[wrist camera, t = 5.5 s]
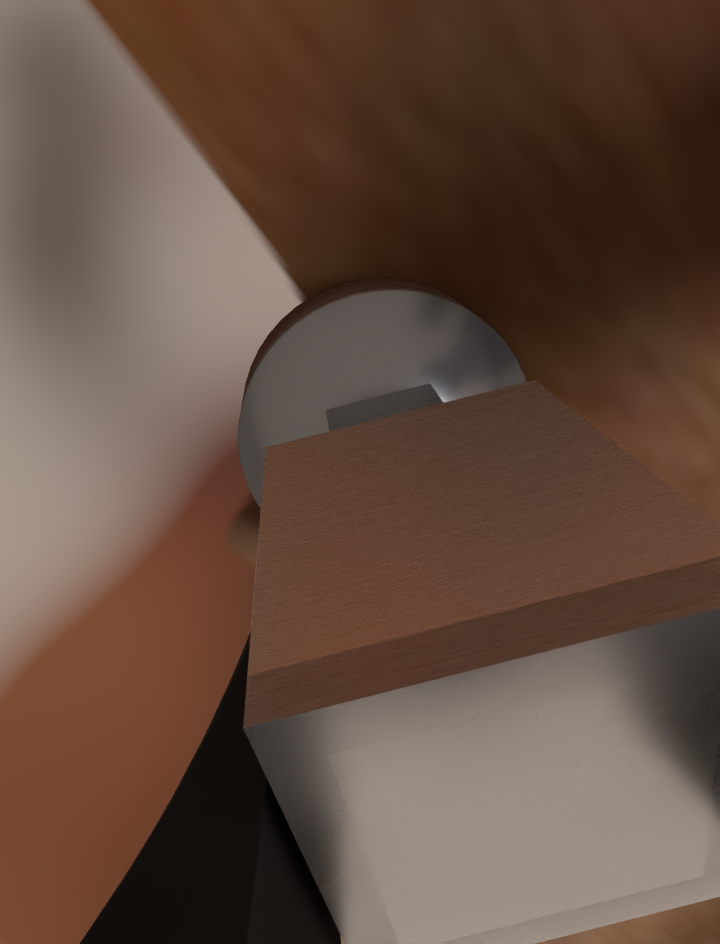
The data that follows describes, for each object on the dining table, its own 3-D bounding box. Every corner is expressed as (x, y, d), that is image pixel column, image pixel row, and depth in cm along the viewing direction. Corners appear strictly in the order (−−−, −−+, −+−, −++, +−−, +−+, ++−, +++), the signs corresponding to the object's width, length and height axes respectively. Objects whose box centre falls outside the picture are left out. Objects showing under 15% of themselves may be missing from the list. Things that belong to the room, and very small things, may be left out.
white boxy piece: (534, 379, 10) (799, 587, 5) (552, 592, 13) (746, 890, 7) (265, 447, 10) (242, 728, 5) (331, 647, 13) (364, 987, 7)
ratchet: (203, 318, 15) (170, 377, 11) (492, 245, 15) (575, 275, 11) (371, 796, 26) (390, 924, 21) (543, 753, 26) (597, 872, 21)
